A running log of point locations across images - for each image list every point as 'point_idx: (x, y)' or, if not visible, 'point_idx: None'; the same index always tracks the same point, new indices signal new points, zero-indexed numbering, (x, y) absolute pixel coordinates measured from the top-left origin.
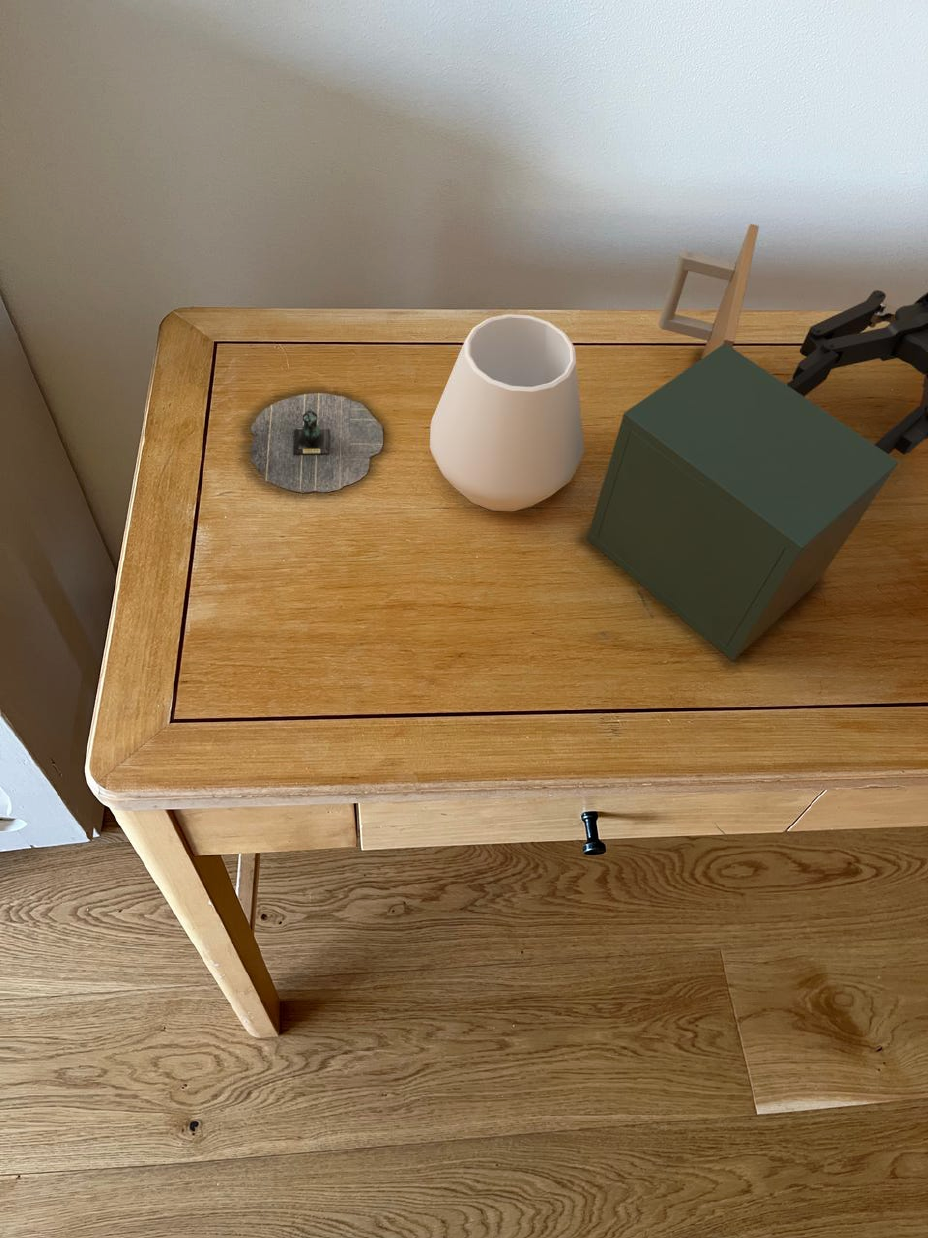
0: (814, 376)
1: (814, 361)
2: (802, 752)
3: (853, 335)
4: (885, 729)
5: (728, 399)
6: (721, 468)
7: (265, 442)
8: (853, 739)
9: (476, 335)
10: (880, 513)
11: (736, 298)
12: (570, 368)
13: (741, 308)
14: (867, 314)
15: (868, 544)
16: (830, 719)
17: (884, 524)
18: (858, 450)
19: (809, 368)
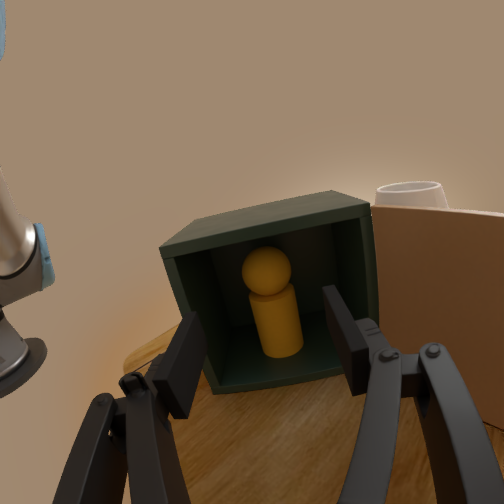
0: (335, 323)
1: (366, 337)
2: (173, 331)
3: (394, 408)
4: (139, 358)
5: (306, 204)
6: (262, 205)
7: None
8: (153, 347)
9: (428, 185)
10: (202, 489)
11: (439, 208)
12: (388, 191)
13: (422, 210)
14: (460, 490)
15: (194, 450)
16: (166, 346)
17: (192, 480)
18: (194, 235)
19: (345, 309)
